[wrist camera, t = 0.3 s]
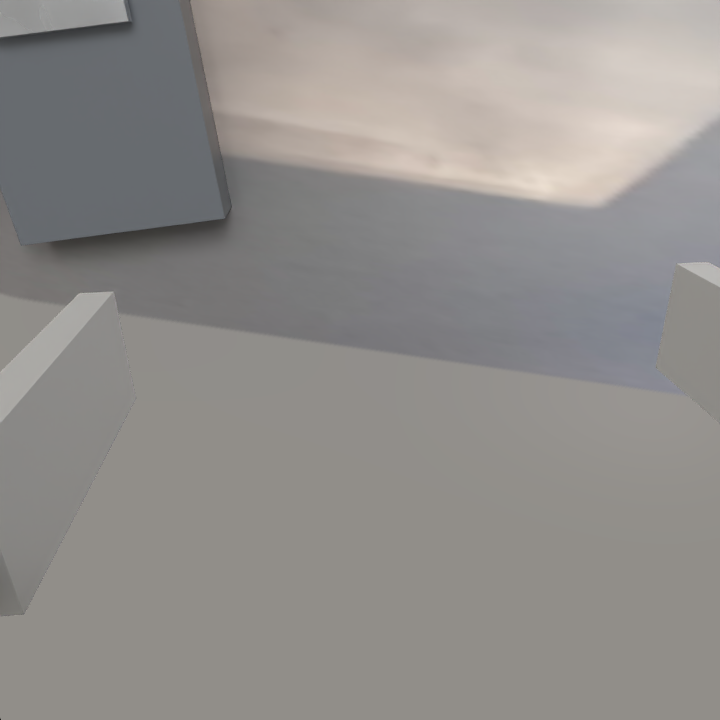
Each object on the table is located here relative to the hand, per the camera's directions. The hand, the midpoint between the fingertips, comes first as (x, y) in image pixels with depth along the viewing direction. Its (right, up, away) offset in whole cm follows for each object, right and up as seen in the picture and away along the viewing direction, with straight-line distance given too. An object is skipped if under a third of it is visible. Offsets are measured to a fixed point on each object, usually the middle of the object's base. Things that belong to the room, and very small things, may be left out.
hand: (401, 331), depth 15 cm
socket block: (-16, +17, +21) cm, 31 cm away
